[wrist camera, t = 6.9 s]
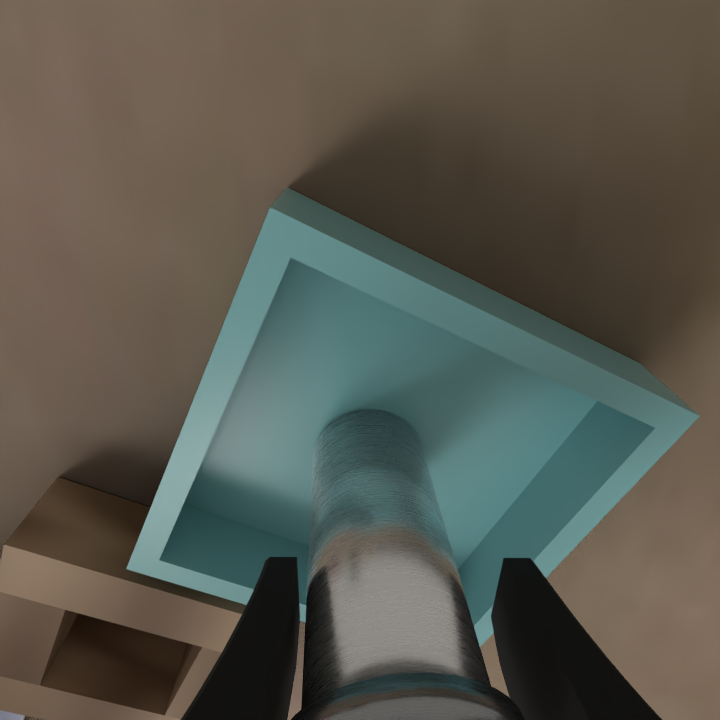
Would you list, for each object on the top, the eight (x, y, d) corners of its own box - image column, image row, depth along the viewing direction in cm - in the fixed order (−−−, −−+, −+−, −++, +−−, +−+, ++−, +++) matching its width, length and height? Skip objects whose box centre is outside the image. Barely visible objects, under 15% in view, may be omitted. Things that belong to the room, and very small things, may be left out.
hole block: (16, 626, 21) (-33, 702, 18) (58, 477, 17) (4, 544, 15) (219, 679, 23) (202, 755, 20) (295, 554, 19) (286, 627, 16)
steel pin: (278, 481, 16) (231, 831, 8) (338, 376, 15) (350, 686, 7) (393, 522, 18) (447, 867, 9) (459, 429, 16) (594, 749, 8)
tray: (160, 500, 18) (126, 569, 15) (286, 187, 13) (270, 207, 10) (445, 595, 20) (459, 668, 18) (639, 363, 15) (700, 416, 13)
